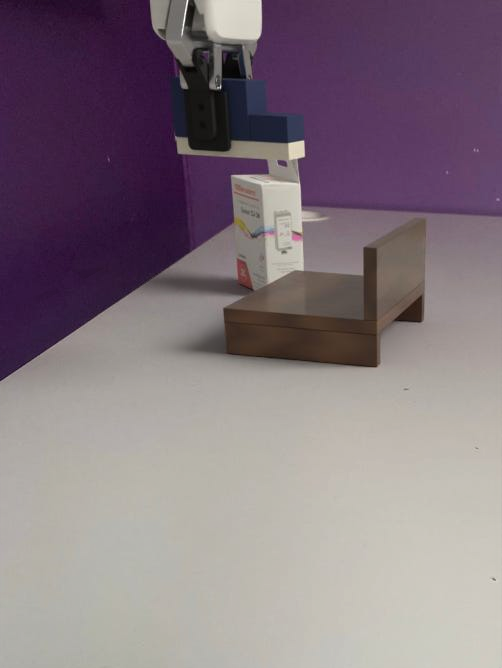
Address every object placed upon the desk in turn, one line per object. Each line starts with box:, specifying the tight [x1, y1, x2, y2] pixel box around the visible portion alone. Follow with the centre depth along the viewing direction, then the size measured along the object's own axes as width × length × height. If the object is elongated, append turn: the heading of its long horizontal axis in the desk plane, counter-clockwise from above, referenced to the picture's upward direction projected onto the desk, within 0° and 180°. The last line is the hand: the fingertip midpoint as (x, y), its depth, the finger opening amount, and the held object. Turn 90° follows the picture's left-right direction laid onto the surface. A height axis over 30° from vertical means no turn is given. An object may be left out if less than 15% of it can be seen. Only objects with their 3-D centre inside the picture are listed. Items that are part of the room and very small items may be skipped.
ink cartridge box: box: [230, 159, 305, 292], centre depth 116 cm, size 9×5×15 cm, turn 34°
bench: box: [222, 217, 427, 368], centre depth 99 cm, size 14×20×10 cm
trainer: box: [169, 76, 306, 161], centre depth 79 cm, size 9×4×5 cm, turn 79°
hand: (222, 145), depth 80 cm, fingers closed on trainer, 4 cm apart
